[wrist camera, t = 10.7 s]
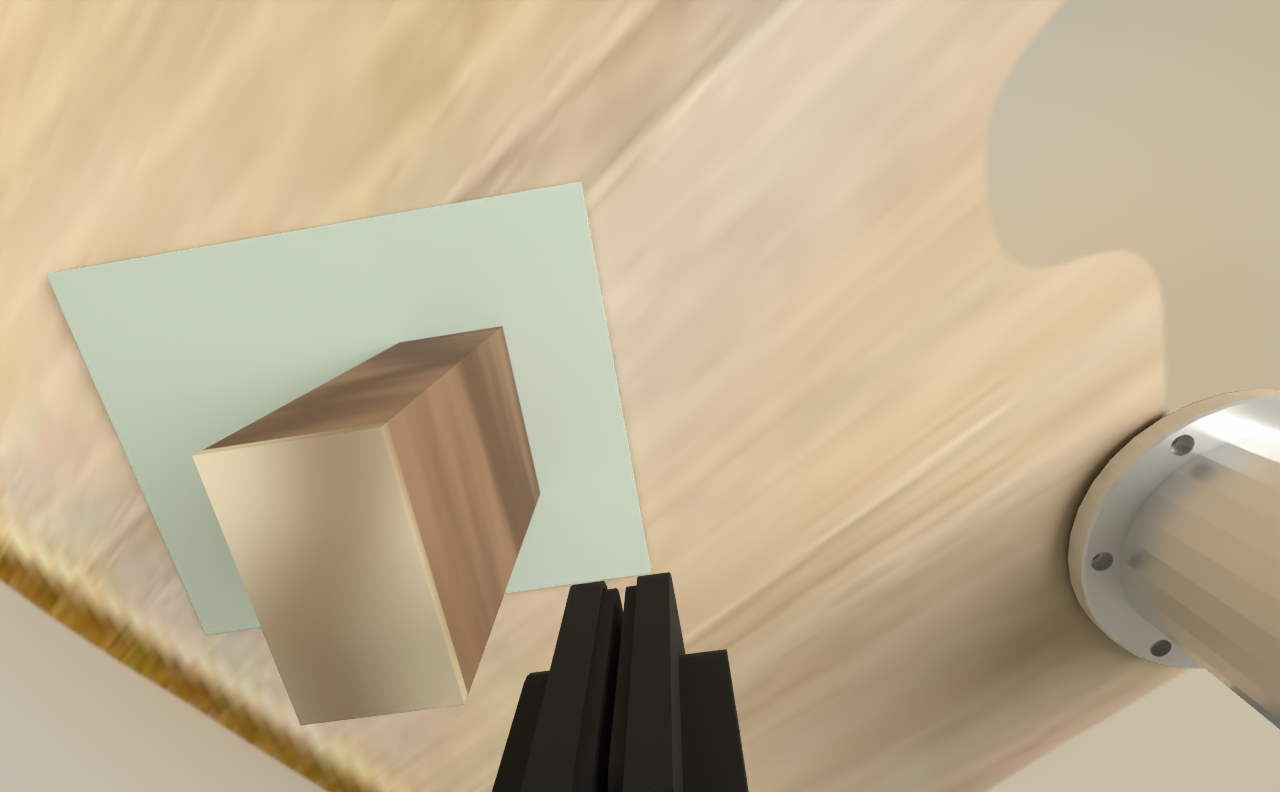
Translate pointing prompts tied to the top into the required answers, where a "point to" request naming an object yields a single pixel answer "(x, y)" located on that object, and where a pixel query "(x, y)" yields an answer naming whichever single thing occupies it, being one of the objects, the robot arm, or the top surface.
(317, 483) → the walnut slab
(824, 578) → the top surface
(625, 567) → the sage mat
